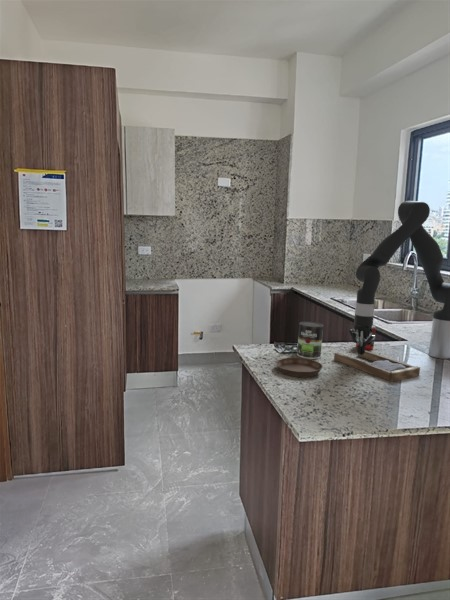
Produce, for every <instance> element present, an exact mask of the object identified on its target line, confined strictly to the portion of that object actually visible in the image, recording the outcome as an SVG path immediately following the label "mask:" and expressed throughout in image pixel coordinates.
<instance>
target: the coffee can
mask: <svg viewBox="0 0 450 600" xmlns="http://www.w3.org/2000/svg"><path fill="white" fill-rule="evenodd" d="M298 325H299V327H298V335H297V336H298V337H297V351H296V356H298V358H304V359H310V360H318V359H321V354H322V345H323V344H322V343H323V331H324V326H325V325H324V324H323V323H321V322H317V321H316V322H315V321H300V322H299V323H298Z"/></svg>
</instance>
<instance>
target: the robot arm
mask: <svg viewBox="0 0 450 600" xmlns="http://www.w3.org/2000/svg"><path fill="white" fill-rule="evenodd" d="M430 209H431V208H430V205H429V204H428V203H427V202H425V201H419V200H405V201H403V202H402V203H400V204H399V206H398V209H397V216H398V219H399V221H400V223H401V225H400V226H399V227H398V228H397V229H395V231H393V232H392V233H390V234H389V235H387V236H386V237H385V238H384V239H383V240H382V241H380V243H379V244H378V246H377V247H376V248H375V249H374V251H373V252H372V253H371V254H370V255H368V257H367V258H365V260H364V261H362V262H361V263H360V265H359V266H358V267H357V268H356V270H355V277H356V279H357V281H360V282H361V283H363V284H362V286H361V288H359V289H358V290H357V293H356V303H355V309H354V319H353V320H354V321H353V324H354V326H353V328H352V329H349V331H348V332H349V334H350V336H351V339H352V340H353V343H355V344H356V343H357V345H358V348H357V347H356V348H357V350H356V351H357V355H358V354H360V355H363V354H364V353H365V346H368V345H370V344H371V343H372V342H373V341H374V342H375V340H376V339H377V335H376V334H375V335H373V333H372V325H374V316H375V299H376V298H375V297H376V291H377V289H378V288H379V287H378V286H379V284H380V280H381V272H380V270H379V268H380V267H383V266H386V265H387V264H388V263H389V261H390V260H391V259H392V257H393V256H394V255H395V254H396V253H397V251H398V250H399V248H400V247H401V246H402V245H403V244H404V243H405V242H406V241H407V240H408V239H410V241H411V244H412V246H413V249H414V251H415V253H416V256H417V258H418V261H419V264H421V265H420V266H421V267H422V270H423V272H424V275H425V278H426V281H427V283H428V288H429V291H430V294H431V296H432V298H433V300H434V301H435V302H437V303H441V304H443V306H442V309H440V310H435V311H434V312H433V314H432V315H433V316H432V323H431V324H432V325H431V332H430V339H429V340H430V341H429V347H428V348H429V349H428V356H429V357H432V358H436V359H443V360H447V359H450V282H445V280H444V279H443V276H442V272H441V269H442V267H443V263H444V256H443V253H442V250H441V248H440V245H439V244H438V242H437V240H436V239H435V238H434V237H433V236H432V235H431V234H430V233H429V232H428V231H427V230H426V229H425V227H424V226H423V224H424V223H425V222H426V221H427V220H428V218H429V216H430V213H431V210H430Z"/></svg>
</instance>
